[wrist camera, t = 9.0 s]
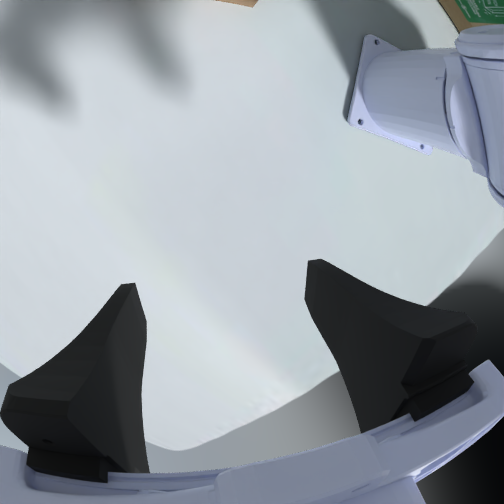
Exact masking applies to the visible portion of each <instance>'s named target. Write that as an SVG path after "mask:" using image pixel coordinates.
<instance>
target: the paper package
mask: <svg viewBox="0 0 504 504" xmlns="http://www.w3.org/2000/svg"><path fill="white" fill-rule="evenodd" d="M438 1H439V2H440V3H441V5H442V6H443V7H444V9H445V10H446V12H447V13H448V15H449V16H450V18H451V19H452V21H453V23H454V24H455V26H456V27H457V29H458V30H459V32H461V31H462V30H465V29H468V28H472V27H477V26H485V25H497V24H504V0H438Z"/></svg>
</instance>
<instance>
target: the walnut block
mask: <svg viewBox="0 0 504 504" xmlns="http://www.w3.org/2000/svg"><path fill="white" fill-rule="evenodd" d="M216 1H222V2H228V3H233V4H239V5H244V6H248V7H253V6H254V5H255V4H256V2H257V1H258V0H216Z"/></svg>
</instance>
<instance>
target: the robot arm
mask: <svg viewBox="0 0 504 504" xmlns="http://www.w3.org/2000/svg"><path fill="white" fill-rule="evenodd" d="M374 40H375V41H376V42H377V45H376V44H375V43H374ZM455 46H456V48H436V49H418V50H406V51H402V50H401V49H399V48H397V47H395V46H393V45H392V44H390V43H388V42H386V41H384V40H382V39H380V38H378V37H376V36H374V35H372V34H368V35H365V37H364V41H363V46H362V52H361V57H360V62H359V67H358V72H357V77H356V82H355V87H354V91H353V96H352V101H351V105H350V110H349V114H348V120H347V121H348V123H349V125H351V126H354V127H357V128H360V129H363V130H365V131H368V132H371V133H374V134H377V135H379V136H382V137H385V138H387V139H390V140H393V141H395V142H398V143H400V144H403V145H405V146H408V147H410V148H412V149H415V150H417V151H419V152H422V153H424V154H426V155H430V154H431V153H432V150H433V147H435V148H438V149H441V150H444V151H447V152H450V153H452V154H455V155H458V156H461V157H463V158H466V159H468V160H469V161H470V163H471V165H472V168H473V172H475V173H478V174H480V175H482V176H484V177H487V180H488V187H489V190H490V193H491V195H492V196H493V198H494V199H495V200H496V201H497V202H498V203H499V204H500V205H501V206H502V207H504V24H497V25H485V26H477V27H472V28H468V29H465V30H462V31H461V32H460V34H459V36H458V38H457V39H456V40H455ZM359 119H360V120H361V123H360V124H358V120H359ZM420 145H421V148H420ZM305 302H306V305H307V307H308V310H309V312H310V315H311V317H312V319H313V321H314V323H315V325H316V326H317V328H318V330H319V332H320V333H321V335H322V337H323V339H324V340H325V342H326V344H327V346H328V347H329V349H330V351H331V353H332V354H333V356H334V358H335V360H336V362H337V364H338V367H339V369H340V371H341V374H342V376H343V379H344V381H345V384H346V386H347V389H348V392H349V395H350V398H351V401H352V404H353V407H354V410H355V413H356V416H357V420H358V423H359V427H360V431H361V434H360V435H357V436H353V437H349V438H345V439H342V440H339V441H336V442H333V443H330V444H327V445H323V446H320V447H317V448H313V449H310V450H306V451H303V452H299V453H295V454H291V455H287V456H283V457H278V458H274V459H269V460H264V461H259V462H254V463H250V464H245V465H241V466H237V467H230V468H224V469H215V470H205V471H194V472H179V473H150V472H149V466H148V461H147V455H146V447H145V439H144V430H143V418H142V398H141V393H142V378H143V369H144V360H145V351H146V342H147V321H146V318H145V315H144V311H143V308H142V305H141V302H140V298H139V295H138V291H137V288H136V284H135V283H129V284H121V285H120V286H119V288H118V289H117V290H116V291H115V292H114V294H113V295H112V296H111V298H110V299H109V300H108V301H107V303H106V304H105V305H104V306H103V308H102V309H101V310H100V311H99V313H98V314H97V315H96V316H95V317H94V318H93V319H92V321H91V322H90V323H89V324H88V325H87V326H86V327H85V329H84V330H83V331H82V332H81V333H80V334H79V335H78V336H77V337H76V338H75V339H74V340H73V341H72V342H71V343H70V344H68V345H67V346H66V347H65V348H64V349H63V350H61V351H60V352H59V353H58V354H57V355H55V356H54V357H53V358H52V359H50V360H49V361H48V362H46V363H45V364H44V365H42V366H41V367H39V368H38V369H36V370H35V371H33V372H32V373H30V374H28V375H27V376H25V377H23V378H21V379H19V380H17V381H16V382H14V383H12V384H10V385H9V386H8V389H7V392H6V395H5V398H4V402H3V404H2V408H1V411H0V417H1V419H2V421H3V423H4V424H5V425H6V427H7V428H8V429H9V430H10V431H11V432H13V433H14V434H15V435H16V436H17V437H18V438H19V439H20V440H21V441H23V442H24V443H25V444H26V445H27V446H28V447H29V450H28V454H27V453H25V452H23V451H20V450H17V449H13V448H9V447H6V446H2V445H0V504H426V503H425V501H424V499H423V497H422V495H421V493H420V491H419V489H418V487H417V485H416V484H415V483H416V482H417V481H419V480H421V479H422V478H424V477H426V476H427V475H429V474H430V473H432V472H434V471H435V470H437V469H438V468H440V467H441V466H443V465H444V464H446V463H447V462H448V461H450V460H451V459H453V458H454V457H455V456H457V455H458V454H460V453H461V452H462V451H464V450H465V449H466V448H468V447H469V446H470V445H472V444H473V443H474V442H475V441H477V440H478V439H479V438H480V437H482V436H483V435H484V434H485V433H486V432H488V431H489V430H490V429H491V428H492V427H493V426H494V425H495V424H496V423H497V422H498V421H499V420H500V419H501V418H502V417H503V416H504V377H503V376H502V375H501V373H500V372H499V371H498V370H497V368H496V367H495V366H494V365H493V364H492V363H491V361H490V360H487V361H485V362H484V363H482V364H481V365H479V366H478V367H476V368H475V369H474V370H472V371H471V372H470V373H469V374H468V373H467V372H466V371H465V369H466V367H467V364H466V362H465V361H464V360H463V359H464V357H465V356H466V354H467V352H468V351H469V349H470V347H471V345H472V344H473V342H474V340H475V338H476V334H477V325H476V324H475V323H474V322H473V321H472V320H471V319H470V318H469V316H467V314H465V313H462V312H455V311H447V310H441V309H436V308H431V307H427V306H423V305H419V304H416V303H412V302H409V301H406V300H403V299H400V298H397V297H395V296H392V295H390V294H387V293H385V292H383V291H380V290H378V289H376V288H374V287H372V286H370V285H368V284H366V283H364V282H362V281H361V280H359V279H357V278H355V277H353V276H351V275H350V274H348V273H346V272H344V271H343V270H341V269H339V268H337V267H336V266H334V265H332V264H330V263H329V262H327V261H325V260H322V259H317V260H310V261H308V266H307V278H306V288H305Z"/></svg>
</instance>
